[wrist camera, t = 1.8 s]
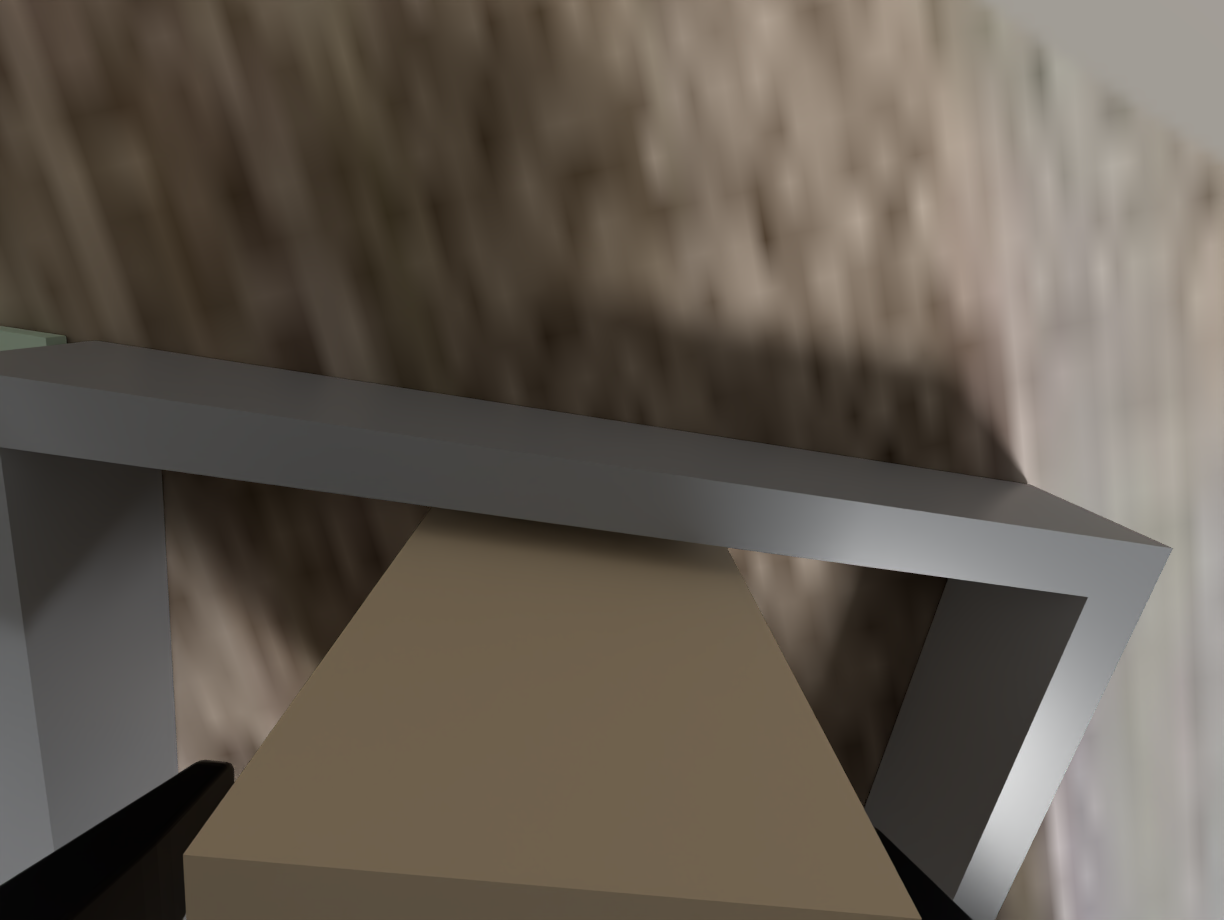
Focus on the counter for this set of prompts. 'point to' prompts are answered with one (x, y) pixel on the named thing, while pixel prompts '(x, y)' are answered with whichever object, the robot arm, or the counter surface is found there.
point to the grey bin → (546, 492)
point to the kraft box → (546, 751)
